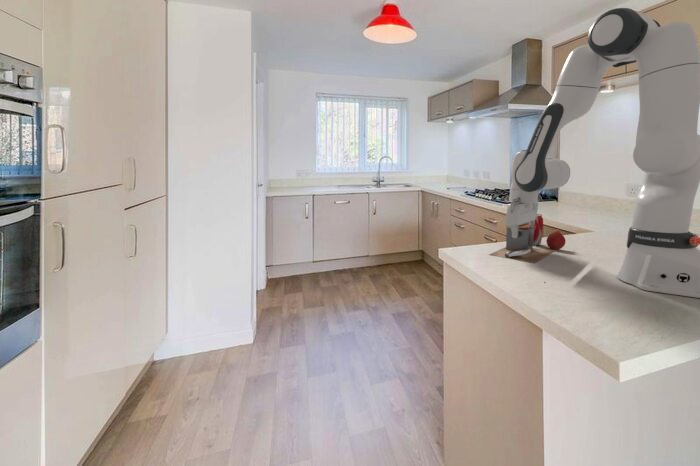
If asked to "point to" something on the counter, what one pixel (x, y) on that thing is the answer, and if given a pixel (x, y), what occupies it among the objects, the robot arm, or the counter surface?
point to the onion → (556, 240)
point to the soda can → (537, 229)
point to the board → (524, 255)
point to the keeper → (517, 253)
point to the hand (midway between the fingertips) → (520, 235)
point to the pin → (524, 226)
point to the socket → (520, 239)
